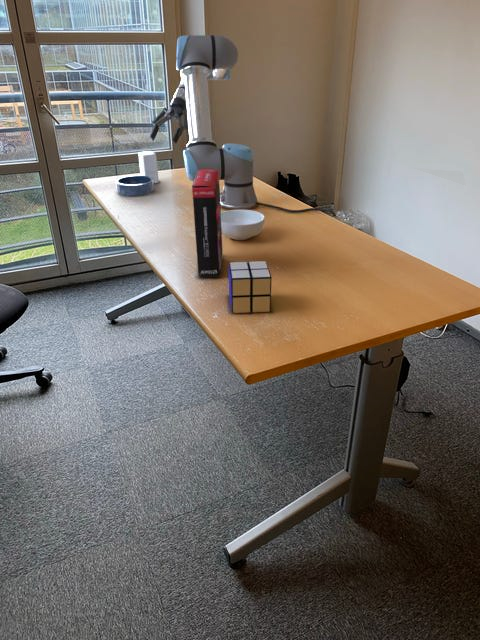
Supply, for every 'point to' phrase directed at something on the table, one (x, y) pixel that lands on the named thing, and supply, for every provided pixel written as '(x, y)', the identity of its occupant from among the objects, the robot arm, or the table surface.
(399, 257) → the table surface
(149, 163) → the small box
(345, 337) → the table surface
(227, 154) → the robot arm
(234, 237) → the cereal bowl
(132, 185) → the bowl
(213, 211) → the graphics card box
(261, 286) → the puzzle cube
